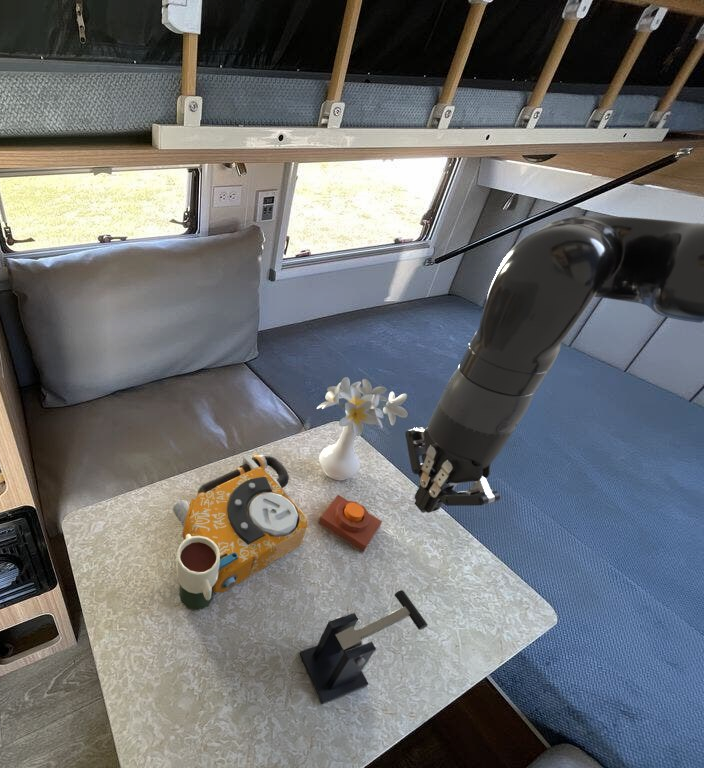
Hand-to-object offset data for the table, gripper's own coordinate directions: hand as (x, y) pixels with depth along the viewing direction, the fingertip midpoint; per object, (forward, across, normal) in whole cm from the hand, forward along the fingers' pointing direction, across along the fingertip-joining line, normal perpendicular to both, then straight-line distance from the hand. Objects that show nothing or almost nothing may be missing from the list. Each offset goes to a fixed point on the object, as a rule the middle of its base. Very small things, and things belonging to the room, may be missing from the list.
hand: (423, 507), depth 55 cm
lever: (+17, -7, +7) cm, 20 cm away
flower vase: (+29, +30, -14) cm, 44 cm away
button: (+25, +16, -7) cm, 30 cm away
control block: (+29, +16, -7) cm, 33 cm away
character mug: (+29, +11, +29) cm, 42 cm away
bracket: (+29, -6, +11) cm, 32 cm away
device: (+29, +22, +14) cm, 39 cm away
